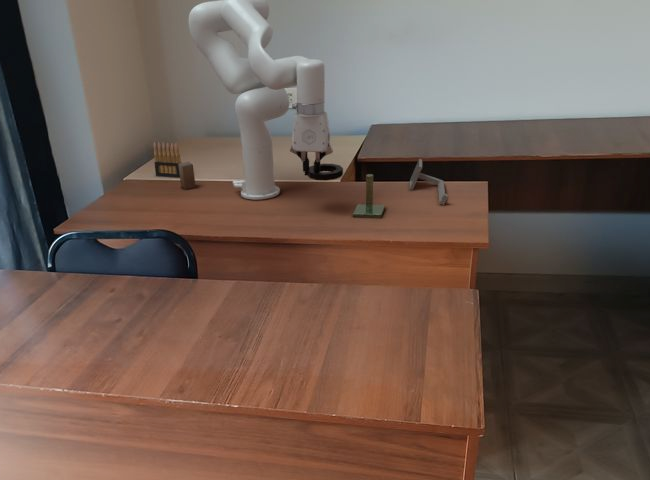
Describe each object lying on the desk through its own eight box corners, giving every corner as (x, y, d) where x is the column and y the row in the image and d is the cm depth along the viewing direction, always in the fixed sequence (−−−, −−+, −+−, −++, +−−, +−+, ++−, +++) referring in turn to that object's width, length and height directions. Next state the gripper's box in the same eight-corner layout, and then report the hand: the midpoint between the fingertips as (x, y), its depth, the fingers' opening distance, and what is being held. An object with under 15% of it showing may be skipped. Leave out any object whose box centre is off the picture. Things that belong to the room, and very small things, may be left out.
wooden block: (196, 187, 225) (193, 163, 221) (185, 189, 224) (181, 166, 220) (191, 184, 228) (188, 161, 224) (180, 186, 227) (177, 163, 223)
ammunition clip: (184, 176, 238) (179, 141, 231) (181, 177, 236) (176, 143, 230) (158, 174, 242) (153, 140, 236) (155, 175, 240) (150, 142, 234)
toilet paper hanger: (439, 214, 195) (450, 191, 191) (409, 204, 195) (419, 180, 191) (437, 190, 214) (447, 168, 210) (409, 180, 214) (419, 158, 210)
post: (353, 217, 191) (353, 179, 185) (357, 207, 197) (357, 170, 191) (381, 218, 188) (382, 179, 183) (384, 208, 195) (385, 171, 189)
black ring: (304, 179, 190) (304, 173, 189) (311, 169, 198) (311, 163, 197) (338, 181, 187) (338, 174, 186) (345, 170, 195) (345, 164, 194)
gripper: (279, 111, 183) (281, 177, 193) (336, 112, 179) (336, 179, 188) (286, 105, 189) (288, 169, 199) (342, 105, 185) (341, 171, 194)
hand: (311, 173), depth 193 cm, fingers closed on black ring, 2 cm apart
